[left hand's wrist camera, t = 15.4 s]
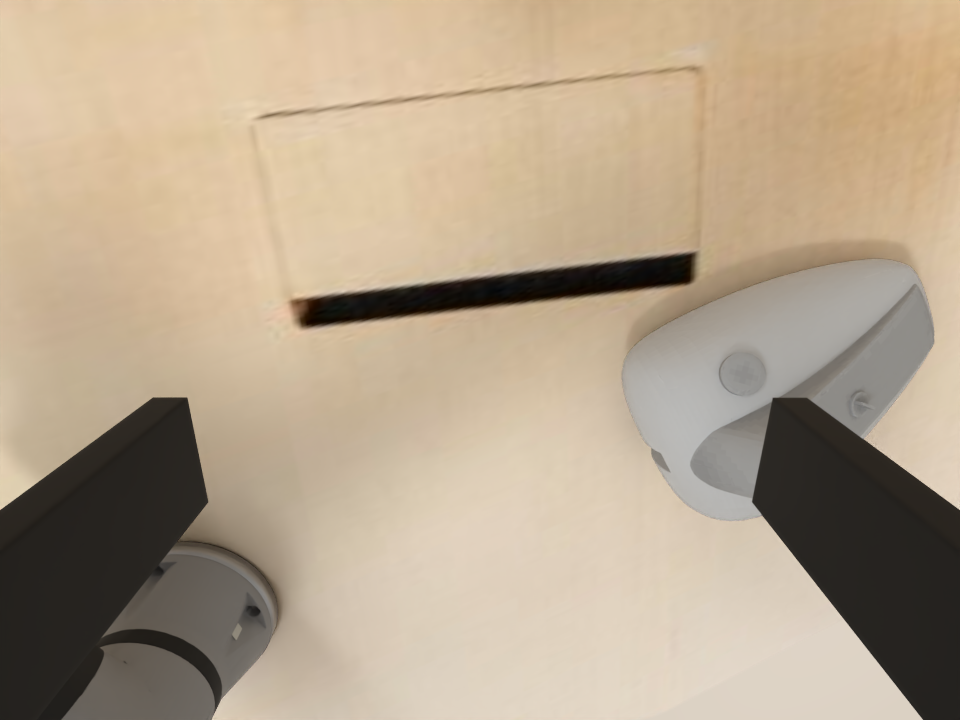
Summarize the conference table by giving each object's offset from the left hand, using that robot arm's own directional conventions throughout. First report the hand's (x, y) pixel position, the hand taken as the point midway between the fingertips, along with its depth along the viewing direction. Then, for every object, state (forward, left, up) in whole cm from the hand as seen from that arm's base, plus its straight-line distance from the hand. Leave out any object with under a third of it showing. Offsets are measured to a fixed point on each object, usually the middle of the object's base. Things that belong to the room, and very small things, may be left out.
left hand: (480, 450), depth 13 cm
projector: (+4, -25, -32) cm, 41 cm away
